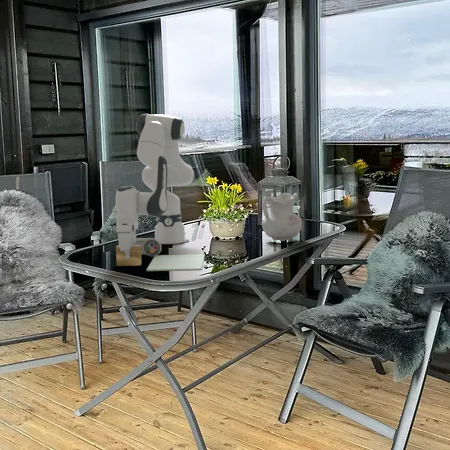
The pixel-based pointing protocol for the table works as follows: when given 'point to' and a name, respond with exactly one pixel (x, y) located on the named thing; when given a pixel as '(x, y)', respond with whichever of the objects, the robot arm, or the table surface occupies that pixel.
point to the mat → (176, 262)
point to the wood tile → (134, 256)
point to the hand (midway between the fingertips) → (128, 257)
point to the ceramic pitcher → (281, 217)
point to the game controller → (149, 246)
